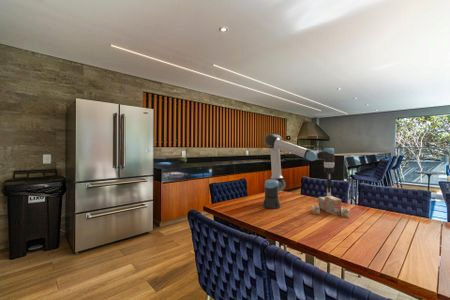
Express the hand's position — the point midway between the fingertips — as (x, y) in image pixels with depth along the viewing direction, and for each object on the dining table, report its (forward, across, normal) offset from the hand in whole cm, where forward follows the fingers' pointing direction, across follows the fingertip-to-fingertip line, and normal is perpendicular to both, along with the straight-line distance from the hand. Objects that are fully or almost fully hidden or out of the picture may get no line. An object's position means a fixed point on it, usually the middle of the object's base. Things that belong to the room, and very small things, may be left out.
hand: (328, 195), depth 175 cm
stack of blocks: (+13, +1, 0) cm, 13 cm away
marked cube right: (+13, -7, -11) cm, 18 cm away
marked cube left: (+13, -7, +10) cm, 18 cm away
